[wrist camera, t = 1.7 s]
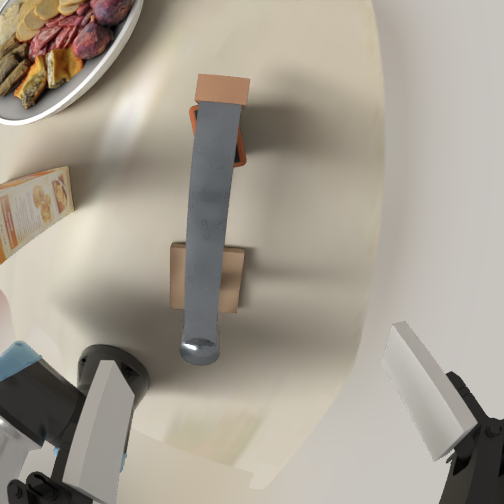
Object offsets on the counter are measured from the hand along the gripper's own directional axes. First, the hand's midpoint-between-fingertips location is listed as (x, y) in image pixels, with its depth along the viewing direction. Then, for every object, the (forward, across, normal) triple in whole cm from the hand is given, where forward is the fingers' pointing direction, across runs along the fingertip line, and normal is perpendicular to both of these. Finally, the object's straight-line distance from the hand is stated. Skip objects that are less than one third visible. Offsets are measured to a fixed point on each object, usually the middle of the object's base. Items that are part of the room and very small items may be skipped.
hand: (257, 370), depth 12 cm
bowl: (+28, -23, +32) cm, 48 cm away
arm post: (+27, -5, -10) cm, 29 cm away
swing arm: (+15, -3, +1) cm, 15 cm away
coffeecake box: (+27, -30, +7) cm, 41 cm away
